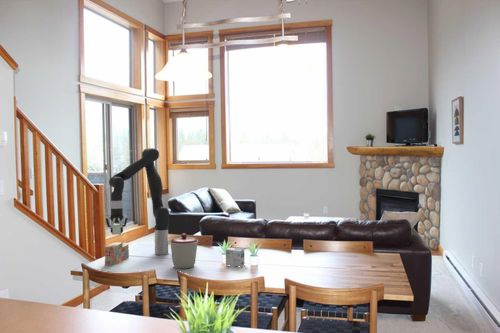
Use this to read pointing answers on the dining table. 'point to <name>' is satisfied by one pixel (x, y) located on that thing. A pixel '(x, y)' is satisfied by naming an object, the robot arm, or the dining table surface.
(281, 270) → the dining table surface
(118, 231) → the sage block
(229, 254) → the light bulb box
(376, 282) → the dining table surface
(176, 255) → the canister
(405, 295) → the dining table surface
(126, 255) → the stack of blocks
